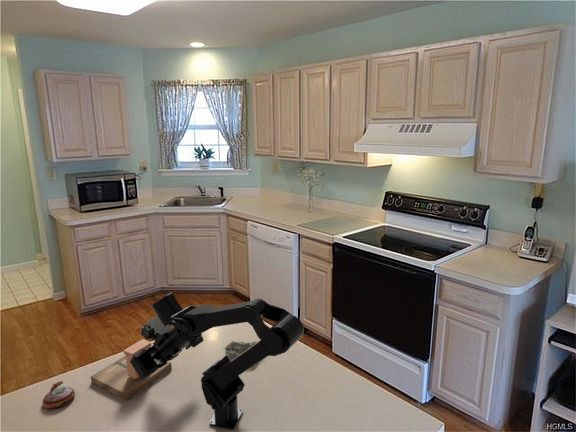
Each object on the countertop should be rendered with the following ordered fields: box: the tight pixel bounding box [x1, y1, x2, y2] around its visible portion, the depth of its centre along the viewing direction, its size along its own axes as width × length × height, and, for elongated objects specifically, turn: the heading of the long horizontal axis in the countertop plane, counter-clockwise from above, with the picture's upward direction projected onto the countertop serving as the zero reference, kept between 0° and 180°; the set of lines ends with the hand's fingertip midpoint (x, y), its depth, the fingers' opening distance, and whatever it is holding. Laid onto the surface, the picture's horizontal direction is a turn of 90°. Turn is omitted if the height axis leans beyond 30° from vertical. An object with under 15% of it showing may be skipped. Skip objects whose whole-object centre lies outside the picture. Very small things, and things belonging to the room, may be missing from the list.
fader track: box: [90, 355, 172, 401], centre depth 116 cm, size 15×16×2 cm
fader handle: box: [123, 338, 153, 379], centre depth 113 cm, size 4×7×8 cm, turn 150°
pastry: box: [42, 380, 76, 410], centre depth 105 cm, size 8×8×5 cm
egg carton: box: [223, 340, 258, 360], centre depth 125 cm, size 11×8×4 cm
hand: (151, 362), depth 110 cm, fingers closed
